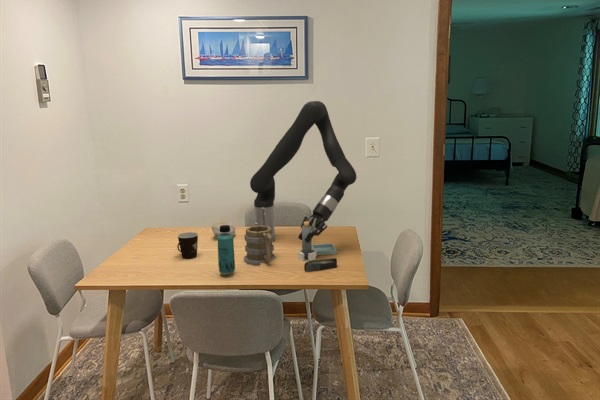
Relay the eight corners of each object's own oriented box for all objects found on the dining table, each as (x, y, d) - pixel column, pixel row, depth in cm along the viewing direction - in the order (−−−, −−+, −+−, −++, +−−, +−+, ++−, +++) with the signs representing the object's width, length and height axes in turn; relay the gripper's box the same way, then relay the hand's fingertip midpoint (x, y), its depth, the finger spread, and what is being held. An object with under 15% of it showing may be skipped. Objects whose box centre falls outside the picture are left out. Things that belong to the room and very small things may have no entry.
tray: (313, 257, 202) (313, 251, 201) (310, 249, 211) (310, 244, 211) (336, 256, 202) (336, 250, 202) (332, 248, 212) (332, 243, 212)
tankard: (241, 257, 203) (239, 224, 200) (269, 253, 208) (268, 220, 205) (254, 273, 185) (253, 237, 182) (284, 268, 190) (283, 232, 187)
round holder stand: (305, 264, 193) (305, 255, 192) (295, 259, 199) (294, 250, 198) (320, 260, 197) (320, 251, 197) (309, 255, 203) (309, 247, 203)
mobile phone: (334, 256, 188) (300, 261, 183) (338, 258, 186) (303, 263, 180) (334, 268, 190) (300, 273, 184) (338, 270, 187) (303, 275, 181)
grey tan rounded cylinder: (302, 255, 196) (302, 223, 193) (301, 252, 200) (301, 220, 197) (312, 255, 196) (311, 223, 193) (311, 252, 200) (310, 220, 197)
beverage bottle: (219, 272, 188) (216, 223, 183) (236, 271, 188) (233, 223, 184) (218, 278, 181) (214, 228, 177) (235, 277, 182) (232, 227, 177)
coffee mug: (192, 252, 212) (191, 231, 210) (203, 256, 206) (201, 234, 204) (169, 258, 204) (167, 236, 202) (179, 263, 198) (177, 240, 196)
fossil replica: (240, 236, 236) (224, 235, 240) (238, 219, 235) (222, 219, 239) (226, 241, 225) (209, 240, 230) (224, 224, 224) (207, 223, 229)
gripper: (310, 199, 203) (287, 231, 199) (331, 205, 192) (307, 239, 188) (320, 209, 207) (298, 241, 203) (341, 216, 196) (318, 249, 192)
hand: (303, 240), depth 195 cm, fingers closed on grey tan rounded cylinder, 4 cm apart
